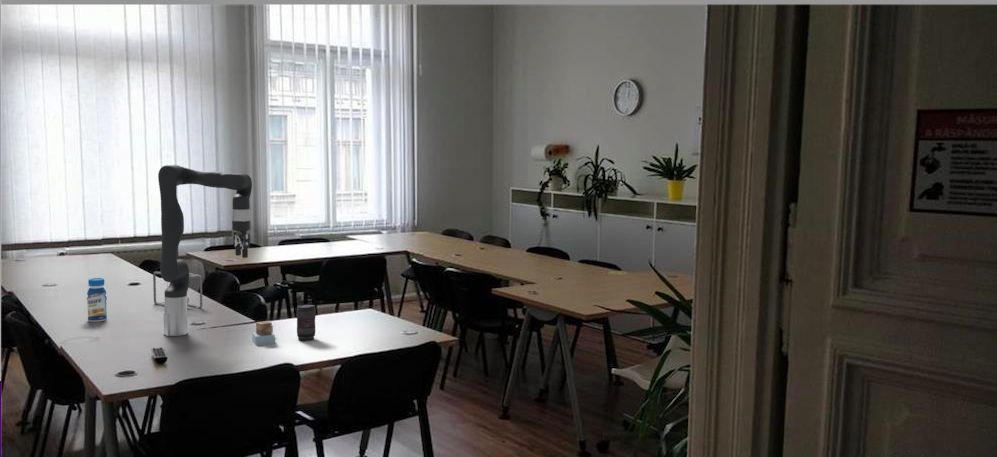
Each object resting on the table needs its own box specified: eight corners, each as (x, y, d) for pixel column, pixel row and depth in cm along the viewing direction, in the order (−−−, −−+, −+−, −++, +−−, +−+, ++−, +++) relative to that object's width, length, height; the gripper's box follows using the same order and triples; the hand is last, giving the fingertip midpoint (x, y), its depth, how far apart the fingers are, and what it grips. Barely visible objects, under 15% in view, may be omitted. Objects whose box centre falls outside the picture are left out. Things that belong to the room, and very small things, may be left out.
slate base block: (255, 345, 337) (255, 336, 337) (252, 341, 344) (252, 332, 344) (274, 344, 341) (274, 335, 340) (271, 340, 348) (271, 331, 347)
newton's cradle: (153, 304, 421) (152, 271, 419) (171, 301, 429) (171, 269, 428) (184, 311, 403) (183, 277, 401) (202, 309, 411) (202, 275, 409)
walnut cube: (260, 335, 338) (260, 324, 338) (256, 333, 342) (256, 322, 342) (271, 334, 341) (271, 322, 341) (267, 332, 345) (267, 320, 345)
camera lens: (319, 338, 351) (318, 304, 350) (309, 342, 344) (309, 308, 342) (302, 336, 354) (302, 303, 352) (293, 340, 346) (293, 306, 344)
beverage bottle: (111, 318, 382) (109, 277, 381) (100, 322, 374) (99, 280, 372) (94, 318, 383) (93, 277, 381) (83, 321, 375) (82, 280, 373)
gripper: (227, 218, 348) (227, 255, 350) (238, 221, 337) (238, 259, 338) (244, 218, 353) (244, 254, 354) (255, 220, 341) (255, 257, 343)
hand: (241, 256), depth 346 cm, fingers open, 8 cm apart
